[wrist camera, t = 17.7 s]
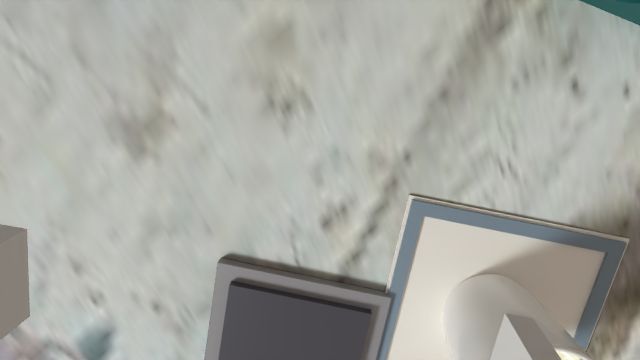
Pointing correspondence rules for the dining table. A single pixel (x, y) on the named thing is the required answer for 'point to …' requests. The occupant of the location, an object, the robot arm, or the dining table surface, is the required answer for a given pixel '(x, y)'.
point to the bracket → (619, 8)
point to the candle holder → (496, 318)
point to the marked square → (490, 271)
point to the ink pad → (291, 316)
